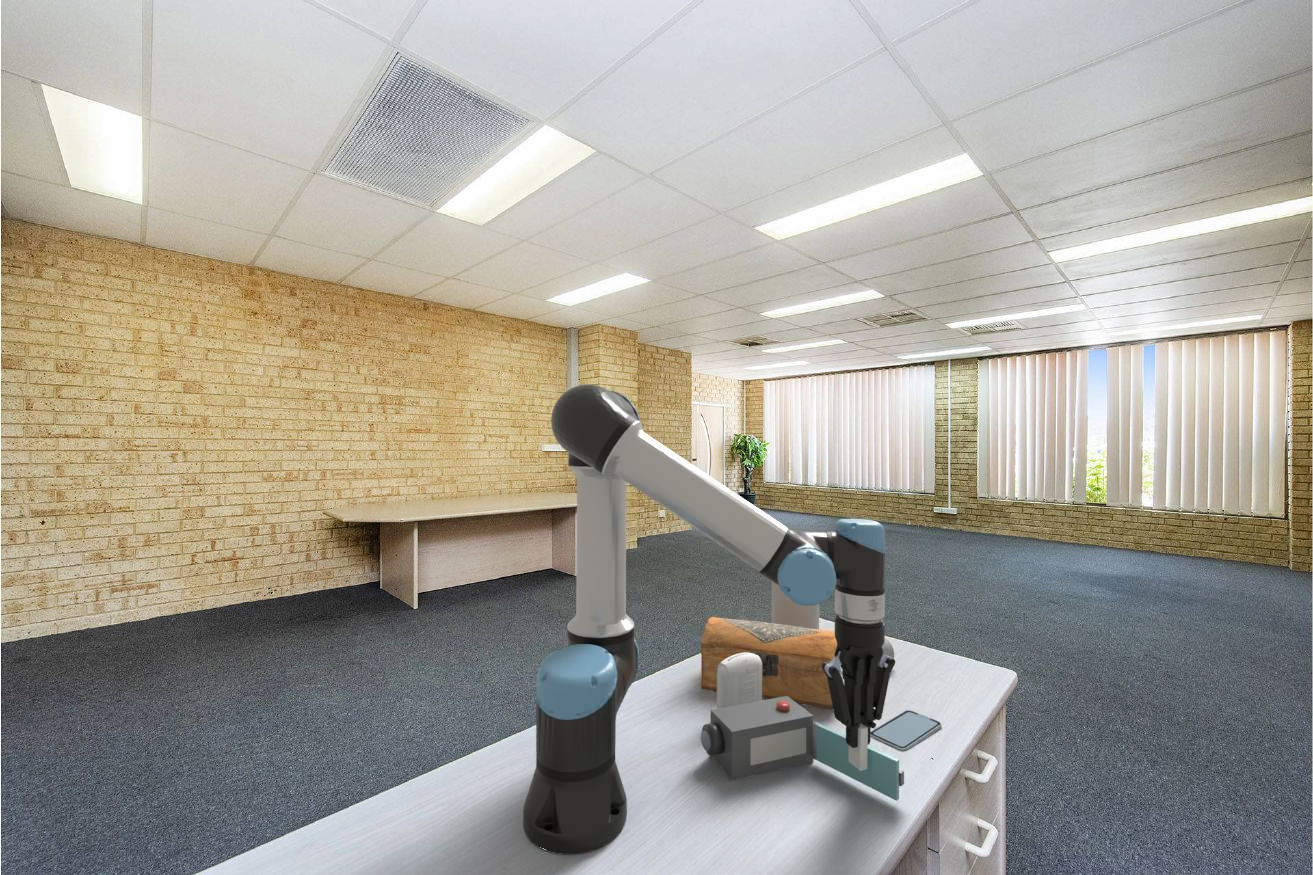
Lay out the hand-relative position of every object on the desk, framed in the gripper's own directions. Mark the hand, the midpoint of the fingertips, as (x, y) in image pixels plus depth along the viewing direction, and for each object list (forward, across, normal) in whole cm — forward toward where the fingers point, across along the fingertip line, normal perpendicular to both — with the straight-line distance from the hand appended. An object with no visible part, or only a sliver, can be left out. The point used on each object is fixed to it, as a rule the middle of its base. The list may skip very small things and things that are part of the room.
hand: (857, 764), depth 87 cm
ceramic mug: (+4, +38, +40) cm, 55 cm away
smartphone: (+5, +22, +12) cm, 26 cm away
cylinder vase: (+5, +26, +55) cm, 62 cm away
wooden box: (+5, +8, +38) cm, 39 cm away
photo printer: (+5, -6, +28) cm, 29 cm away
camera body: (+4, -11, +13) cm, 18 cm away
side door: (+3, +1, +2) cm, 4 cm away
